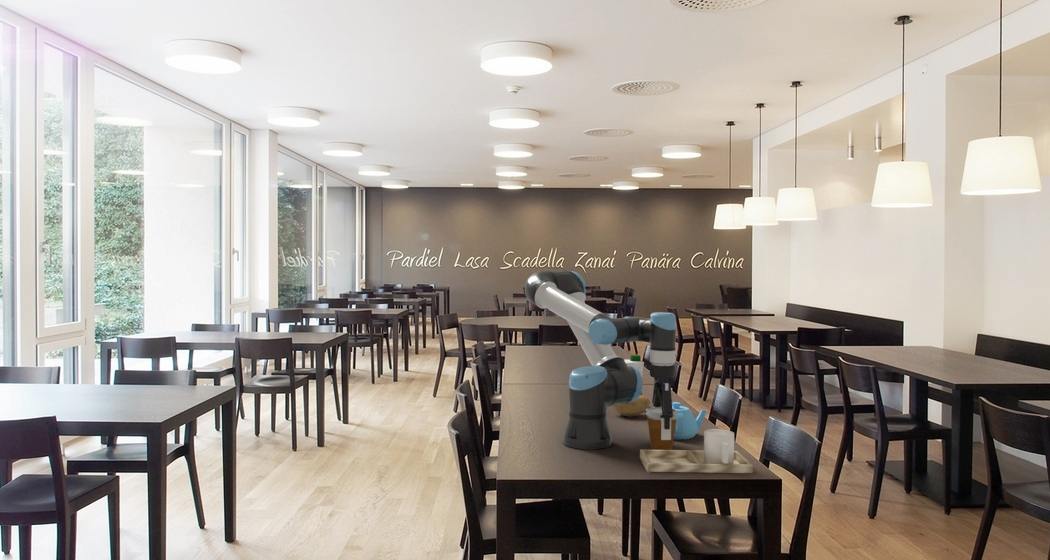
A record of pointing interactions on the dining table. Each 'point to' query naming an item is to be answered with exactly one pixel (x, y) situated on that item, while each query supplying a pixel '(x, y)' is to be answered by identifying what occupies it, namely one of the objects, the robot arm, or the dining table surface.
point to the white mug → (718, 446)
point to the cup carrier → (690, 462)
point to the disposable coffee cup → (659, 429)
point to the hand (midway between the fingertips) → (661, 433)
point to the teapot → (686, 422)
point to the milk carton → (635, 363)
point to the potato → (633, 407)
